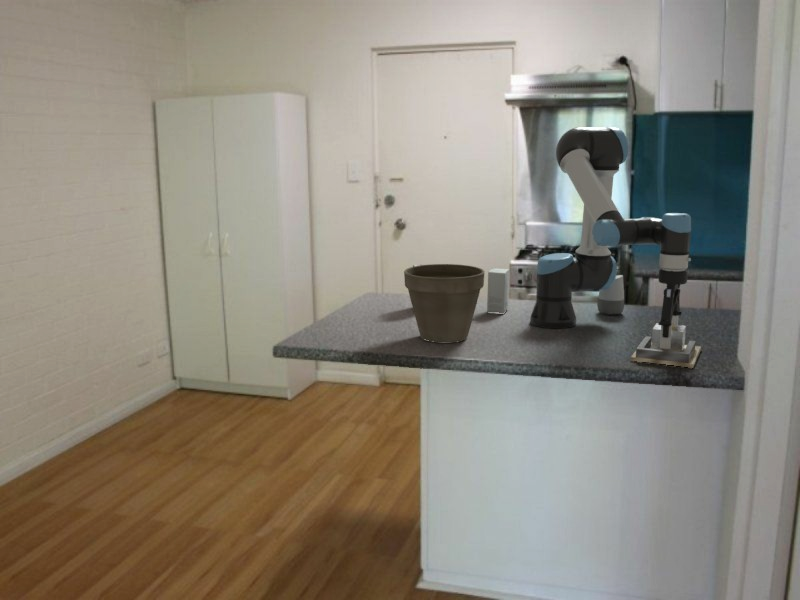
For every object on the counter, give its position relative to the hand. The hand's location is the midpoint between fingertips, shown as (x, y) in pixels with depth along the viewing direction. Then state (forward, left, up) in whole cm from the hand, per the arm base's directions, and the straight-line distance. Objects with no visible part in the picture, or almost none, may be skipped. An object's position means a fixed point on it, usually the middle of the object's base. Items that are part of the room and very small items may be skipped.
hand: (668, 342), depth 206 cm
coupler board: (0, -2, -3) cm, 4 cm away
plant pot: (-65, -12, -3) cm, 66 cm away
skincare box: (-63, +32, -3) cm, 71 cm away
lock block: (0, 0, -2) cm, 2 cm away
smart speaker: (-26, +46, -3) cm, 53 cm away
